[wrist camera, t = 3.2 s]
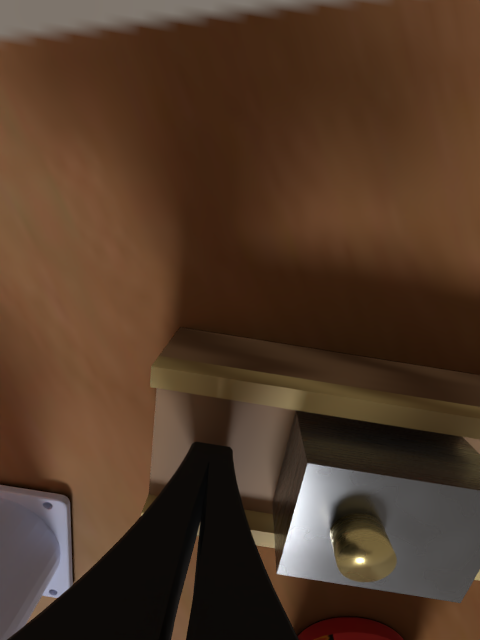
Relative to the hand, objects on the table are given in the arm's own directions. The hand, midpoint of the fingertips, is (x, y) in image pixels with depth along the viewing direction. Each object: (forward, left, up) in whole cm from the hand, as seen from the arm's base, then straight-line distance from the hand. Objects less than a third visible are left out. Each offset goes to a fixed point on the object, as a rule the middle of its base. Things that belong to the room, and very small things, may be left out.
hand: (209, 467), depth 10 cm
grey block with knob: (+6, 0, -1) cm, 6 cm away
